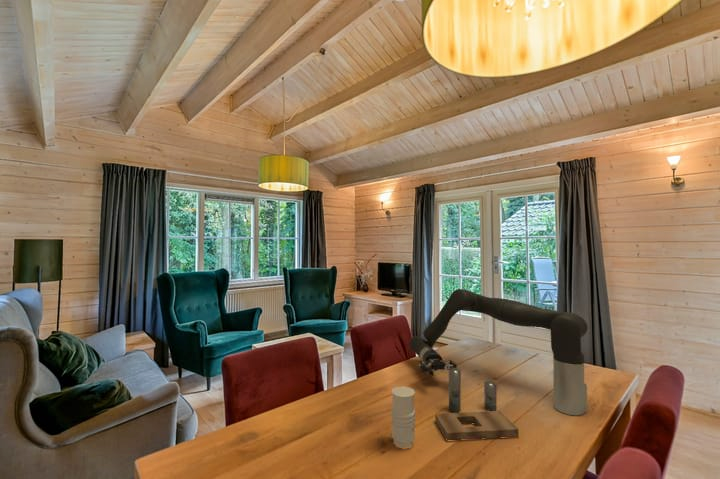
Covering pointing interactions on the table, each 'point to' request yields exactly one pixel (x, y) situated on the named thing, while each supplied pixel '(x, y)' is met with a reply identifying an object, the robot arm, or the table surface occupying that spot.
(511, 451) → the table surface
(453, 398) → the tall pin
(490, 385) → the short pin
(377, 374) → the table surface
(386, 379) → the table surface
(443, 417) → the hole plate
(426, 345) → the robot arm
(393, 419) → the white ribbed cylinder
